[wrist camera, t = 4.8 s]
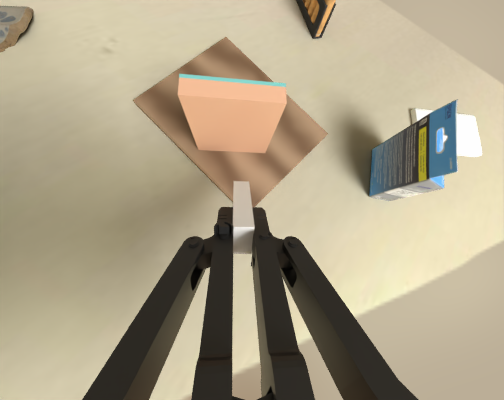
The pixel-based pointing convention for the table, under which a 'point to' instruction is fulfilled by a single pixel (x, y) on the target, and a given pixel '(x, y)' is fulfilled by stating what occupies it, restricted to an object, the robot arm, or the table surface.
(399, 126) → the table surface
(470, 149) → the external hard drive
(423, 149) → the label tape box
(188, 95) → the tile
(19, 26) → the ceramic fragment
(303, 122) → the board
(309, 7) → the ammunition clip
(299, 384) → the robot arm
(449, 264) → the table surface
